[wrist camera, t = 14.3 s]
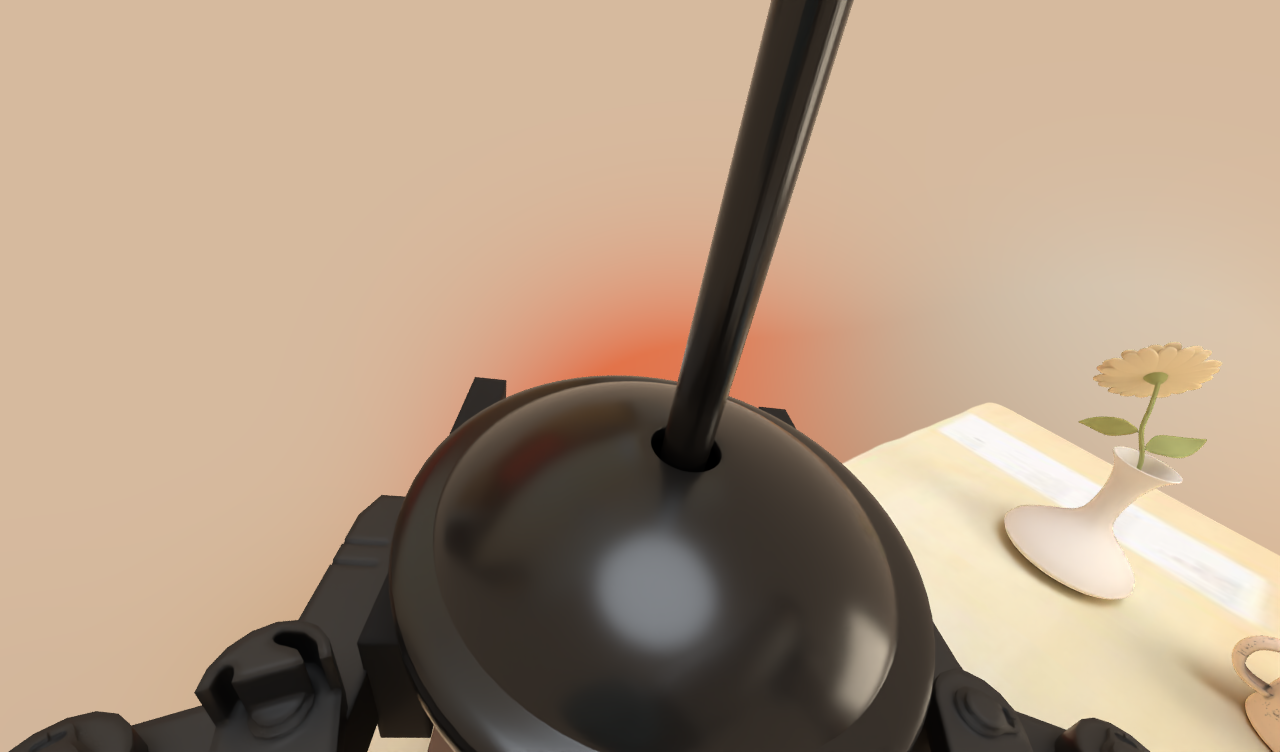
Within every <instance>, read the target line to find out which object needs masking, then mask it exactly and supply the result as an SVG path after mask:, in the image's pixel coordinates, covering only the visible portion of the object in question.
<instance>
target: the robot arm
mask: <svg viewBox="0 0 1280 752" xmlns="http://www.w3.org/2000/svg"><path fill="white" fill-rule="evenodd" d="M505 398H506V380H498V379H488V378H479V377H475V379H474V381H473V383H472V385H471V388H470V390H469V392H468V394H467V397H466V399H465V401H464V403H463V405H462V408H461V410H460V412H459V415H458V417H457V419H456V421H455V424H454V426H453V428H452V430H451V432H450V434H451V433H452V432H453V431H455V430H456V429H457V428H458V427H460V426H461V425H462V424H463V423H464V422H466V421H467V420H468V419H470V418H471V417H473V416H474V415H476V414H477V413H479V412H480V411H482V410H484V409H485V408H487V407H489V406H491V405H493V404H494V403H496V402H498V401H500V400H503V399H505ZM759 409H761V410H762V411H764V412H767V413H769V414H771V415H772V416H774V417H776V418H778V419H780V420H781V421H783V422H785V423H787V424H788V425H790V426H792V427H793V428H795V426H794V424H793V423H792V421H791V419H790V417H789V415H788V414H787V412H786V410H785V409H775V408H766V407H759ZM795 429H796V428H795ZM404 499H405V497H402V496H388V495H381V496H380V497H379V498H378V499H377V500H375V501H374V502H373V503H372V504H371V505H370V506H368V507H367V508H366V509H365V510H364V511H363V512H361V513H360V514H359V515H358V517H357V519H356V521H355V522H354V524H353V526H352V527H351V529H350V531H349V533H348V535H347V536H346V538H345V542H344V544H342V545H341V547H340V548H339V550H338V552H337V554H336V555H335V557H334V559H333V563H332V565H330V566H329V568H328V569H327V571H326V573H325V574H324V576H323V578H322V580H321V582H320V583H319V585H318V587H317V589H316V590H315V592H314V594H313V595H312V597H311V599H310V601H309V602H308V604H307V606H306V607H305V609H304V611H303V613H302V614H301V616H300V618H299V620H295V621H283V622H276V623H273V624H270V625H268V626H266V627H263V628H260V629H257V630H254V631H252V632H250V633H249V634H247V635H246V636H244V637H243V638H241V639H240V640H238V641H237V642H235V643H234V644H232V645H231V646H229V647H228V648H227V649H226V650H225V651H224V652H223V653H222V654H221V655H220V656H219V657H218V658H217V659H216V660H215V661H214V662H213V663H212V664H211V665H210V666H209V667H208V669H207V670H206V672H205V674H204V675H203V677H202V679H201V681H200V683H199V685H198V687H197V689H196V691H195V692H194V693H195V694H196V696H197V698H198V699H199V701H200V702H201V704H202V706H198V707H195V708H191V709H188V710H184V711H181V712H177V713H174V714H170V715H167V716H163V717H160V718H156V719H153V720H149V721H146V722H143V723H139V724H136V725H132V726H131V725H130V724H129V723H128V722H127V721H126V720H125V719H124V718H123V717H121V716H120V715H119V714H115V713H107V712H98V711H95V712H92V713H87V714H83V715H78V716H74V717H70V718H66V719H64V720H62V721H60V722H58V723H56V724H54V725H52V726H49V727H48V728H45V729H43V730H41V731H39V732H37V733H35V734H33V735H32V736H30V737H29V738H27V739H26V740H24V741H23V742H22V743H20V744H19V745H18V746H16V747H15V748H13V749H12V750H10V751H9V752H367V751H368V748H369V746H370V743H371V740H372V737H373V734H374V732H375V729H376V726H377V724H378V728H379V732H380V736H381V738H431V734H432V730H433V726H434V725H433V723H432V721H431V720H430V718H429V716H428V715H427V713H426V712H425V710H424V708H423V707H422V705H421V703H420V701H419V699H418V697H417V695H416V693H415V690H414V688H413V686H412V684H411V682H410V680H409V677H408V675H407V672H406V670H405V667H404V663H403V660H402V657H401V653H400V650H399V647H398V644H397V640H396V636H395V631H394V625H393V619H392V613H391V608H390V600H389V579H388V567H389V557H390V547H391V541H392V537H393V533H394V528H395V524H396V520H397V517H398V515H399V512H400V509H401V506H402V503H403V501H404ZM933 628H934V637H935V673H934V682H933V689H932V696H931V701H930V705H929V708H928V711H927V715H926V718H925V722H924V725H923V727H922V730H921V732H920V734H919V736H918V738H917V740H916V743H915V745H914V747H913V749H912V751H911V752H1150V751H1149V750H1147V749H1146V748H1145V747H1144V746H1143V745H1142V744H1140V743H1139V742H1138V741H1137V740H1136V739H1134V738H1133V737H1132V736H1131V735H1129V734H1128V733H1126V732H1124V731H1123V730H1121V729H1119V728H1118V727H1116V726H1114V725H1113V724H1111V723H1108V722H1105V721H1102V720H1099V719H1096V718H1088V719H1081V720H1080V721H1078V722H1077V723H1076V724H1074V725H1073V726H1072V727H1070V728H1069V729H1068V730H1065V729H1062V728H1060V727H1057V726H1054V725H1052V724H1049V723H1046V722H1043V721H1041V720H1038V719H1035V718H1033V717H1030V716H1027V715H1024V714H1022V713H1019V712H1016V711H1014V709H1013V708H1012V707H1011V706H1010V705H1009V704H1008V702H1007V701H1006V700H1005V699H1004V698H1003V697H1002V695H1001V694H1000V693H999V692H997V691H996V690H995V689H994V688H992V687H991V686H990V685H989V684H987V683H986V682H985V681H984V680H982V679H980V678H978V677H976V676H974V675H972V674H970V673H968V672H966V671H964V670H963V669H962V668H961V666H960V665H959V663H958V662H957V660H956V659H955V657H954V655H953V654H952V652H951V651H950V649H949V647H948V646H947V644H946V642H945V641H944V639H943V637H942V636H941V634H940V633H939V631H938V629H937V628H936V626H935V624H934V623H933Z"/></svg>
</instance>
